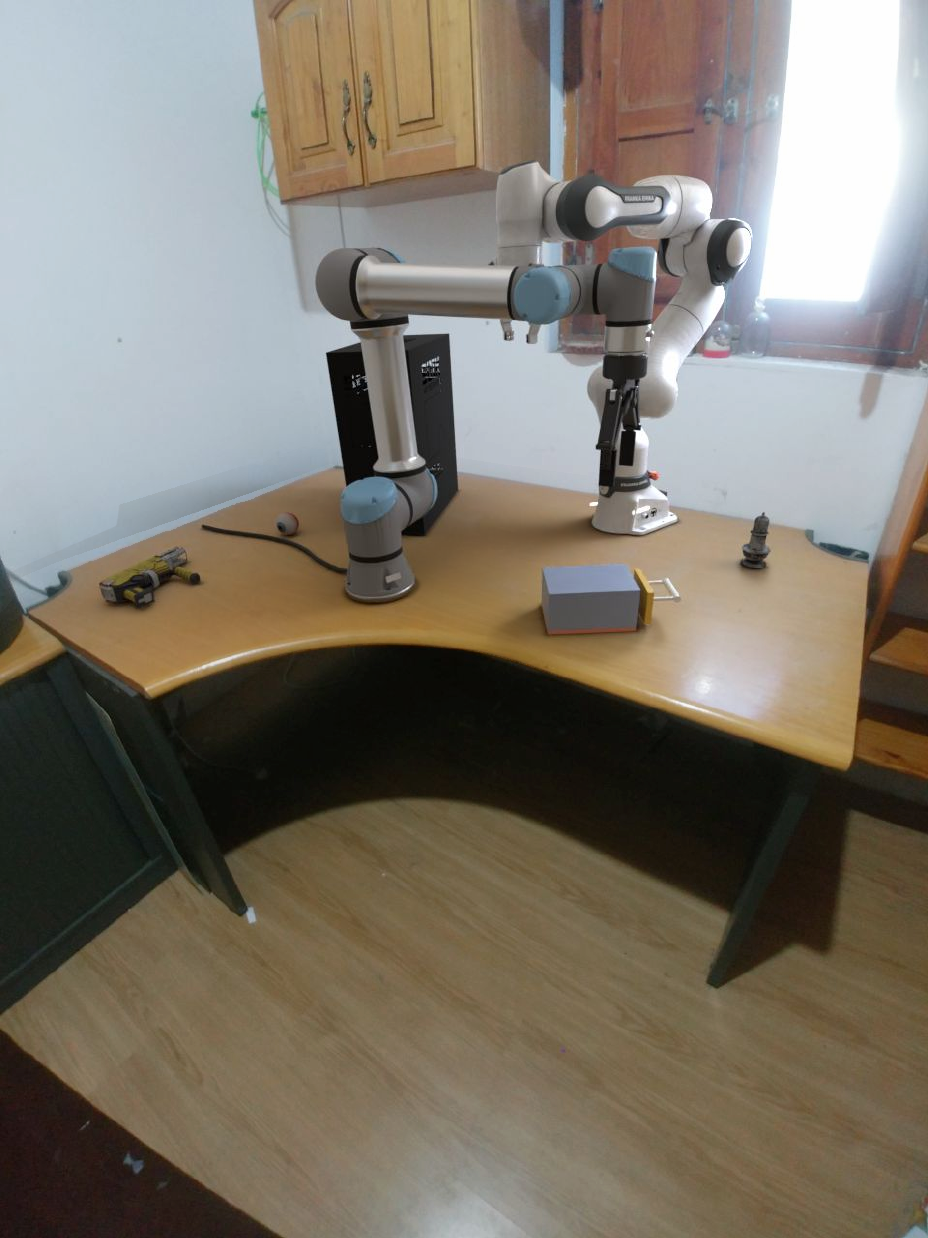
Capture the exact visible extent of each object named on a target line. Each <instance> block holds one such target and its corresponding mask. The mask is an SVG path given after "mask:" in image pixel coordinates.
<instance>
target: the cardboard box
mask: <svg viewBox="0 0 928 1238" xmlns="http://www.w3.org/2000/svg"><path fill="white" fill-rule="evenodd" d="M403 340H404V348H405V356H406V364H407V373H408V381H409V389H410V397H411V405H412V413H413V421H414V429H415V437H416V445H417V453H418V455H420V456H421V457H422V458H423V459H425V462H426V468H427V469H428V470H429V472H430V473H431V474H433V476H434V478H435V480H436V483H437V498H436V501H435V503H434V505H433V507H432V508H431V509H430V510H429V511H428V513H426V515H425V516H423V517H422V518H420V519H418V520H416V521H415V522H413V523H412V524H411V525H409V526H408V527H406V528H405V529H404V530H402V531H401V536H402V535H405V536H406V535H407V536H426V534H428V532H429V531H430V529H431V528H432V526H433V525H434V524H435V522H436V521H437V520H438V519H439V517H440V515H441V514H442V513H443V512H444V510H445V509H446V507H447V506H448V505H449V503H450V502H451V501H452V500H453V498H454V497H455V495H456V494H457V493H458V491H459V481H458V480H459V479H458V461H457V446H456V444H457V443H456V427H455V409H454V407H455V406H454V393H453V392H454V390H453V375H452V357H451V343H450V342H451V340H450V333H429V334H428V333H424V334H423V333H422V334H403ZM325 356H326V362H327V364H326V365H327V370H328V374H329V383H330V390H331V396H332V402H333V409H334V415H335V421H336V428H337V429H336V430H337V435H338V441H339V448H340V454H341V455H340V456H341V461H342V469H343V474H344V482H345V488H346V487H347V486H348V485H349V484H351V483H353V482H355V481H357V480H363V479H364V478H369V477H375V475H374V469H373V466H374V464H375V463H376V462H377V460H378V459H379V457H378V450H377V444H376V437H375V431H374V424H373V418H372V412H371V405H370V399H369V392H368V386H367V379H366V373H365V367H364V360H363V354H362V347H361V341H360V342H359V341H358V342H355V343H353V344H350V345H347V346H343V347H339V348H337V349H333V350H330V351H327V352H325ZM433 360H434V361H433ZM423 365H425V366H423Z"/></svg>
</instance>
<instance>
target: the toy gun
mask: <svg viewBox="0 0 928 1238" xmlns="http://www.w3.org/2000/svg"><path fill="white" fill-rule="evenodd" d="M184 554H185V558H181V556H182V555H184ZM187 562H188V554H187V550H186V549H185V548H184V547H179V546H175V547H173V548H171V549H168V550H167V551H164V552H162V553H161V554H159V555H157V554H155V555H154V556H152V557H150V558H147V559H145V560H142V561H141V562H139V563H137V564H135V565H132V566H129V568H127V569H124V570H122V571H120V572H118V573H116V574H113V575H111V576H109V577H107V578H105V579H103V580H101V581H99V583H98V586H99V589H100V593H101V597H102V599H103V600H105V602H106V603H110V604H112V603H114V602H115V603H123V602H126V601H132V602H134V604H135V606H136V609H141V608H143V607H145V606H148V605H150V604H153V603H154V602H155V596H154V592H153V590H155V589H157V588H158V587H160V583H161V582H164V581H166V580H169V579H172V577H173V576H175V577H178V578H179V579H182V580H185V581H187V582H190V583H192V585H195V584H198V583H200V581H201V575H200V574H199V573H198V572H194V571H191V570H189V569H186V568H184V567H181V565H182V564H184V563H187Z"/></svg>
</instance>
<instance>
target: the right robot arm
mask: <svg viewBox="0 0 928 1238" xmlns="http://www.w3.org/2000/svg"><path fill="white" fill-rule="evenodd" d="M496 183H497V184H496V189H495V190H496V191H495V224H496V227H497V235H498V236H497V242H496V255H495V256H494V257H493V259H492V260H490V262H488V263H487V264H486V265H496V266H547V265H546V263H543V243H546V244H561V243H570V242H571V243H572V242H592V241H595V240H597V239H599V238H600V237H602V236H603V235H605V234H606V233H608V232H609V231H611V230H612V229H614V228H622V227H623V228H624V227H626V229H627V231H628V233H629V234H630V236H632V237H634V238H638V239H643V240H659V241H658V245H657V263H658V266H659V268H660V270H661V271H662V272H663V273H664V274H666V275H668V276H670V277H674V278H680V277H682V281H681V285H680V287H679V289H678V290H677V293H676V294H675V295H674V296H673V297H672V298H671V299H670V300H669V302H668V303H667V304H666V306H664V308H663V309H662V311H661V312H660V313H659V314H658V316H657V317H656V319H655V320H653V321H652V323H651V329H650V331H653V332H654V336H653V337H649V338H650V341H649V349H648V350H647V351H645V353H646V354H647V355H648V366H647V374H646V376H645V377H643V378H641V379H640V382H639V405H640V420H656V419H662V418H664V417H666V416H667V415H669V413H670V412H671V411H672V410H673V409H674V408H675V405H676V404H677V403H676V402H677V400H678V396H679V386H678V383H677V377H678V374H679V371H680V369H681V366H682V365H683V363H684V361H685V360H686V359H687V357H688V356H689V354H690V353H691V352H692V350H693V349H694V348H695V346H696V345H697V344H698V342H699V341H700V340H701V338H702V337H703V336H704V335H705V334H706V332H707V330H708V329H709V328H710V326H711V325H712V323H713V322H714V320H715V318H716V317H717V315H718V313H719V311H720V309H721V307H722V306H723V304H724V301H725V290H724V287H725V286H727V285H729V284H730V283H732V282H733V281H734V280H735V278H736V277H737V275H738V273H739V272H740V271H741V270H742V269H743V267H744V266H745V265H746V262H747V261H748V259H749V257H750V254H751V252H752V248H753V233H752V229H751V227H750V225H749V224H748V223H747V222H745V220H741V219H737V218H731V217H728V218H725V219H723V218H722V219H721V218H711V216H710V213H711V209H712V204H713V196H712V191H711V188H710V186H709V185H708V184H707V183H706V182H705V181H704V180H702V179H699V178H696V177H692V176H687V175H679V174H662V175H660V174H659V175H656V176H650V177H646V178H643V179H640V180H637V181H636V182H635V183H634V184H633V185H629V186H624V185H623V186H621V185H616V184H614V183H612V182H610V181H609V180H607V179H606V178H604V177H602V176H601V175H598V174H595V173H587V174H584V175H581V176H578V177H576V178H574V179H569V180H566V181H560V180H557V179H556V178H554V177H552V175H550V174H548V173H547V172H546V170H545V169H543V168H542V166H541V165H540V163H539V161H537V160H535V159H534V160H525V161H521V162H518V163H516V164H513V165H509V166H506V167H504V168H503V169H502V170H501V171H500V172H499V174H498V177H497V182H496ZM512 322H513V320H501V319H499V323H500V326H501V329H502V332H503V333H502V335H503V340H504V341H506V342H510V341H511V342H512V341H514V340H515V331H514V330H513V327H512ZM527 323H528V325H529V328H528V333H526V334H525V339H526V340H525V342H526V344H529V345H536V344H537V343H538V334H539V332H540V329H541V327H542V325H536V324H531V323H529V322H527ZM602 371H603V365H600V366H597V368H595V369H594V370H593V371H592V372H591V374H590V376H589V378H588V380H587V383H586V384H587V385H586V391H587V392H586V393H587V396H588V398H589V400H590V402H591V403H592V404H593V407H594V408H595V411H596V414H597V415H596V416H597V419H598V422H599V428H600V427H601V421H602V416H603V410H604V405H605V396H606V394H605V392H606V389H612V384H613V381H612V380H611V379H606V378H604V377H603V375H602ZM639 425H641V430H640V431H636V430H634V431H635V432H636V441H635V453H634V464H633V466H623V465H619V455H620V442H621V431H626V430H623V424H622V423H621V427H620V431H619V435H618V439H617V443H616V448H615V449H617V458H616V471H615V484H614V487H607V486H598V492H599V493H598V498H597V501H596V502H590V503H589V506H590V507H592V506H596V507H595V511H594V514H593V517H592V520H591V525H592V526H593V527H594V528H595V529H597V530H599V531H601V532H605V533H611V534H623V535H625V534H626V535H632V536H633V535H634V536H645V535H646V534H650V533H652V532H654V531H657V530H660V529H662V528H665V527H668V526H670V525H672V524H675V523H677V522H678V516H677V515H676V514H675V513H674V512H672V511H670V503H669V502H670V501H669V498H668V491H665V490H661V489H658V488H656V487H655V486H654V485H652V483H651V480H653V481H658V479H659V478H660V473H659V472H657V471H654V470H651V471H649V470H648V469H647V466H648V458H649V457H648V455H649V446H650V441H649V437H648V435H647V434H646V432H645V431H644V429H643V427H642V424H641V422H640V423H639ZM607 442H609V441H607Z"/></svg>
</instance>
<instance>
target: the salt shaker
mask: <svg viewBox="0 0 928 1238" xmlns="http://www.w3.org/2000/svg"><path fill="white" fill-rule="evenodd" d="M769 525H770V518H769V517H768V516H766V513H765V511H763V512H762V513H761V515H758V516H756V517H755V518H754V522H753V527H752V529H751V530H750V534H751V536H750V539H749V542H748V543H745V544H742V545H741V549H742V555H743V556H744V558H742V559H741V560H740V561H739V562H740V564H741V565H742V566H743V567H747V568H752V569H763V568H765V567H766V566H767V562H766V560H765V559H767V557H768V556H769V554H770V553H771V551H772V549H771V547H770V546H768V545H766V542H767V536H769V535H770V534H769V531H768V529H769ZM764 560H765V561H764Z"/></svg>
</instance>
